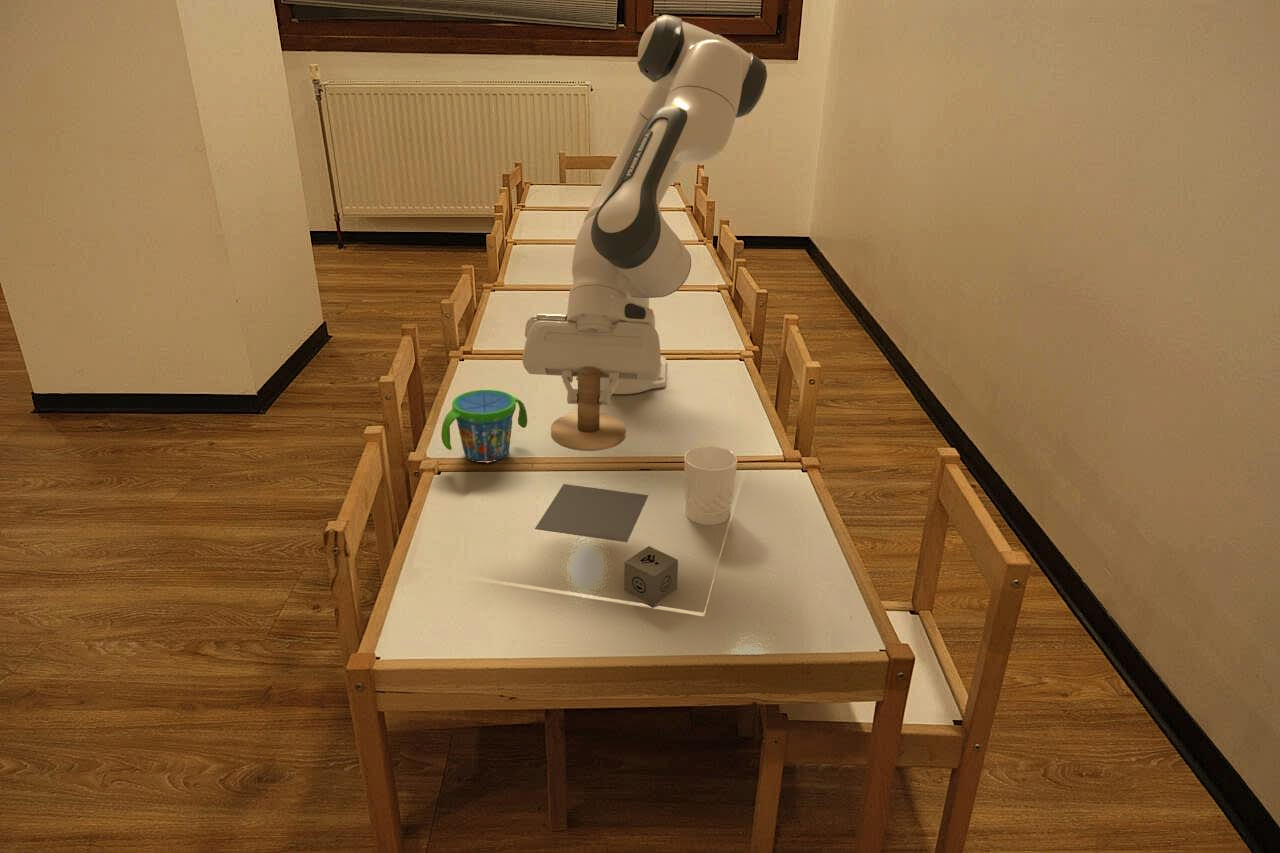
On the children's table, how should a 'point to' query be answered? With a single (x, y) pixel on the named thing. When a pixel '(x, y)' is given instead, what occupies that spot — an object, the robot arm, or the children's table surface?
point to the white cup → (709, 484)
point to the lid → (588, 419)
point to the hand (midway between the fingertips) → (588, 403)
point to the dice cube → (650, 575)
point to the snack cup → (483, 423)
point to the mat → (593, 512)
